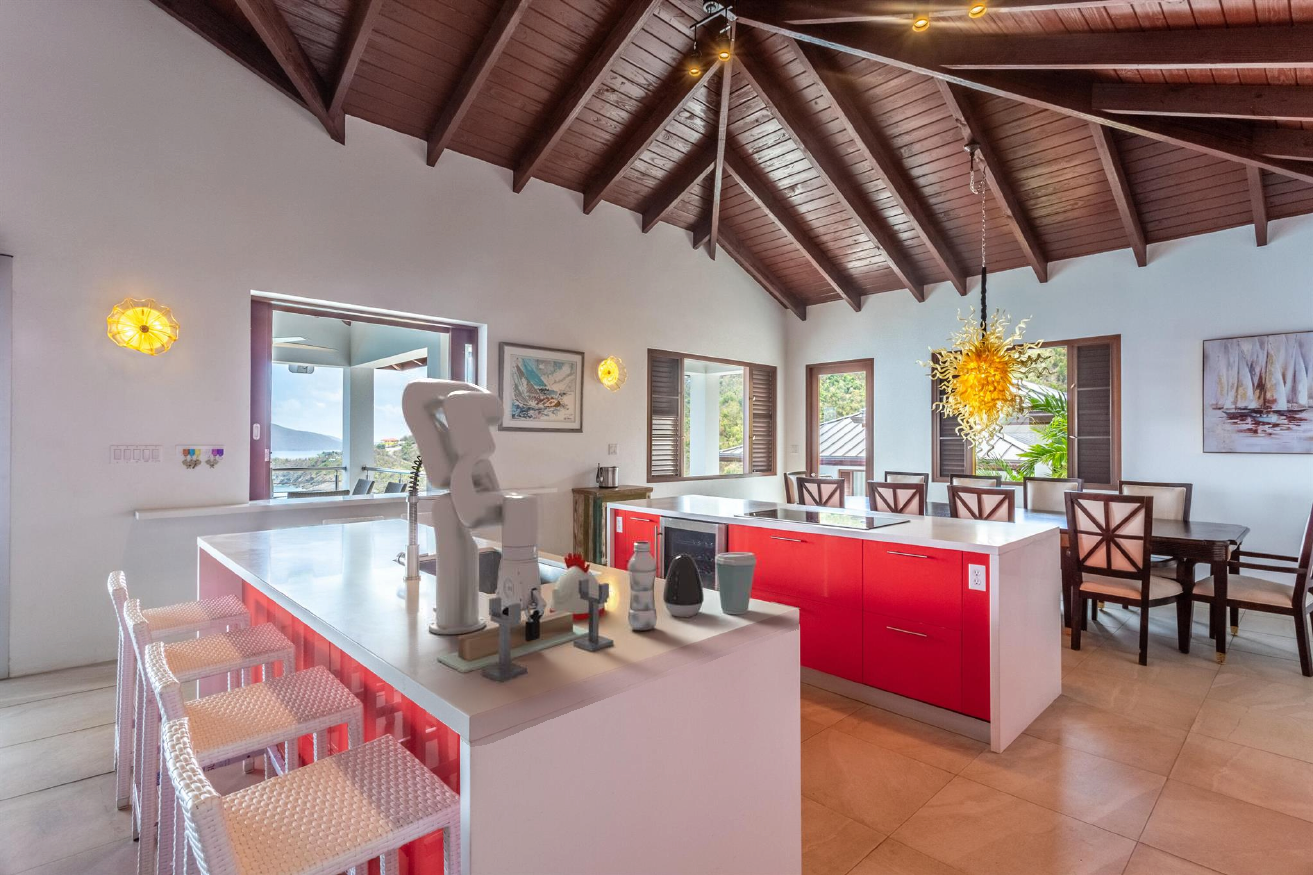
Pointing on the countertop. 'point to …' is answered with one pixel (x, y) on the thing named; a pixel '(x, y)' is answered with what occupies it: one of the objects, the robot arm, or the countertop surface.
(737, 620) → the countertop surface
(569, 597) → the kitchen timer
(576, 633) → the mat
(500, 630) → the hook standards
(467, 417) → the robot arm
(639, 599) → the plastic bottle
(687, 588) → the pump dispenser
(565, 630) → the rail
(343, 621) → the countertop surface
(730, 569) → the disposable coffee cup
